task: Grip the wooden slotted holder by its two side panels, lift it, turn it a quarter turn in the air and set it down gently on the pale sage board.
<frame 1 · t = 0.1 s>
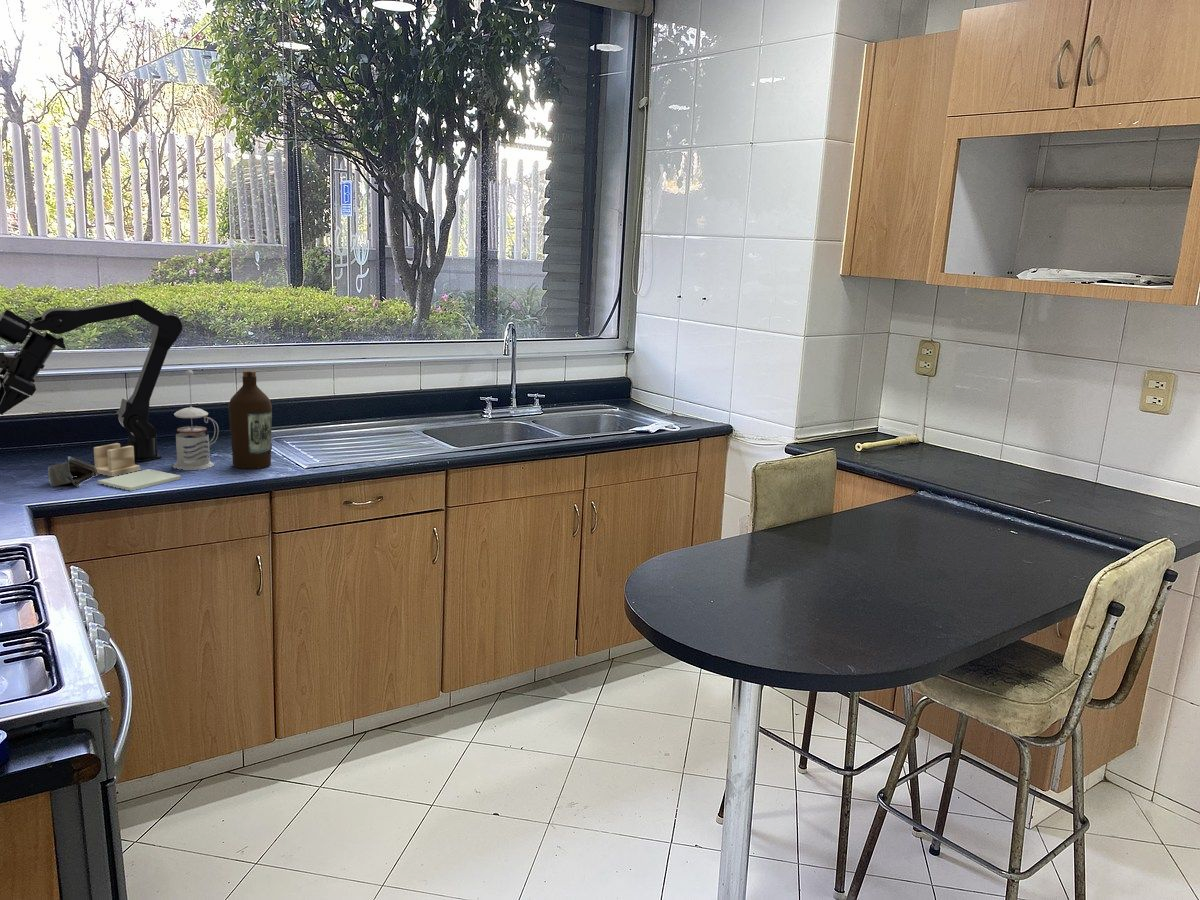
french press: (196, 465, 234), on the kitchen counter
chocolate cake: (71, 483, 212), on the kitchen counter
sage board: (140, 481, 216), on the kitchen counter
olive oil: (252, 465, 236), on the kitchen counter
wooden slotted holder: (115, 472, 223), on the kitchen counter
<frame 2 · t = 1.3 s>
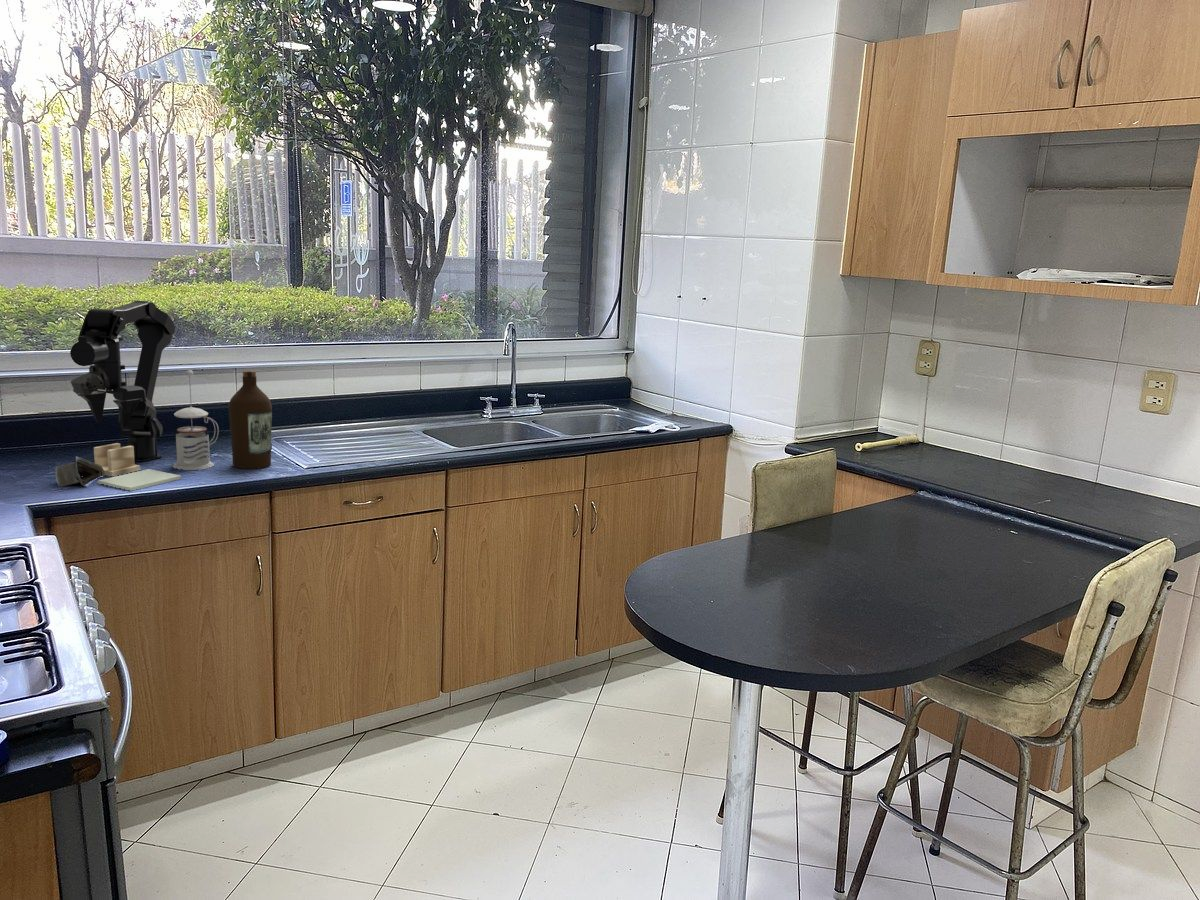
hand: (111, 424, 220), 12 cm above the kitchen counter, tool pointing down, fingers open, 9 cm apart
chocolate cake: (78, 483, 213), on the kitchen counter
everything else where it was.
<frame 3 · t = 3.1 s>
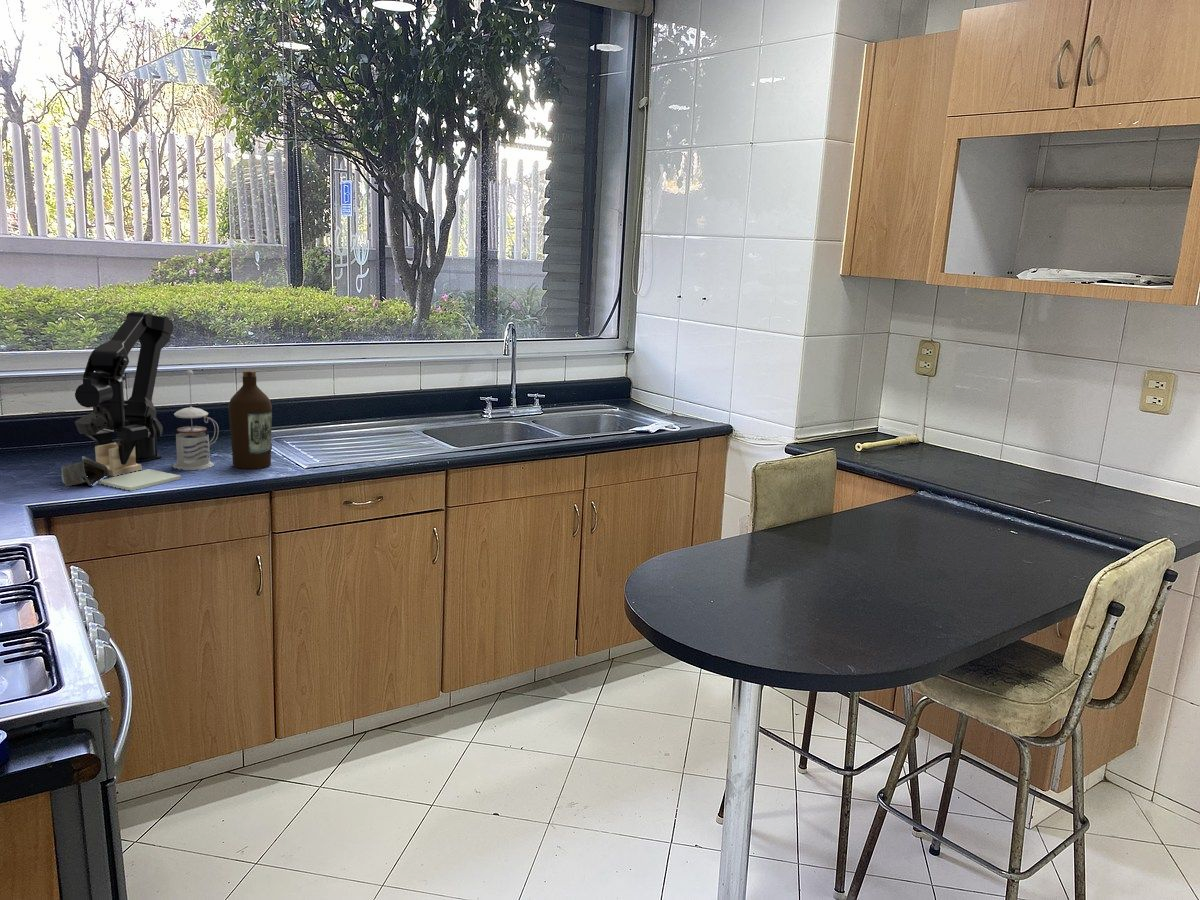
hand: (114, 462, 223), 2 cm above the kitchen counter, tool pointing down, fingers closed on wooden slotted holder, 6 cm apart
chocolate cake: (84, 483, 213), on the kitchen counter
wooden slotted holder: (116, 471, 223), on the kitchen counter, touching gripper
everything else where it was.
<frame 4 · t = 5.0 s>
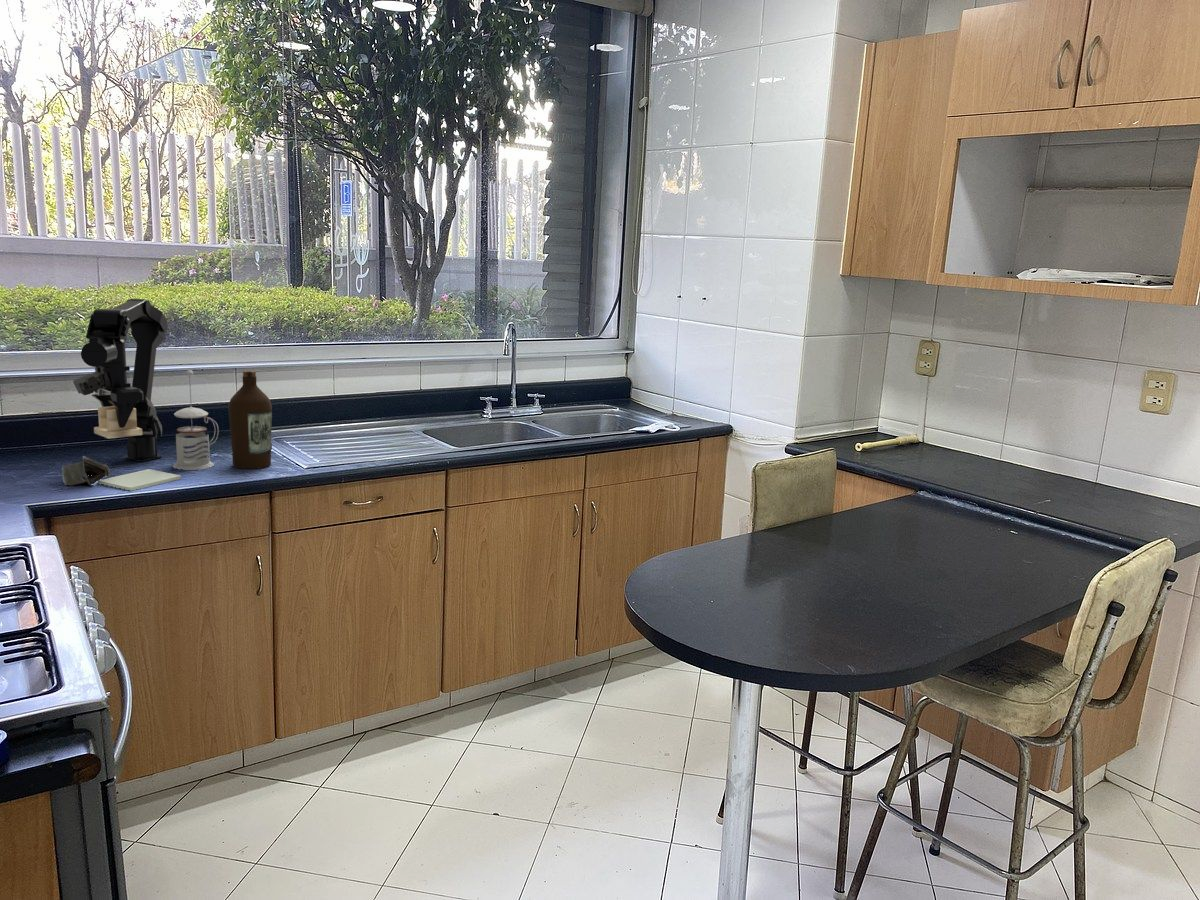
hand: (116, 425, 219), 12 cm above the kitchen counter, tool pointing down, fingers closed on wooden slotted holder, 6 cm apart
wooden slotted holder: (118, 434, 220), point 10 cm above the kitchen counter, touching gripper
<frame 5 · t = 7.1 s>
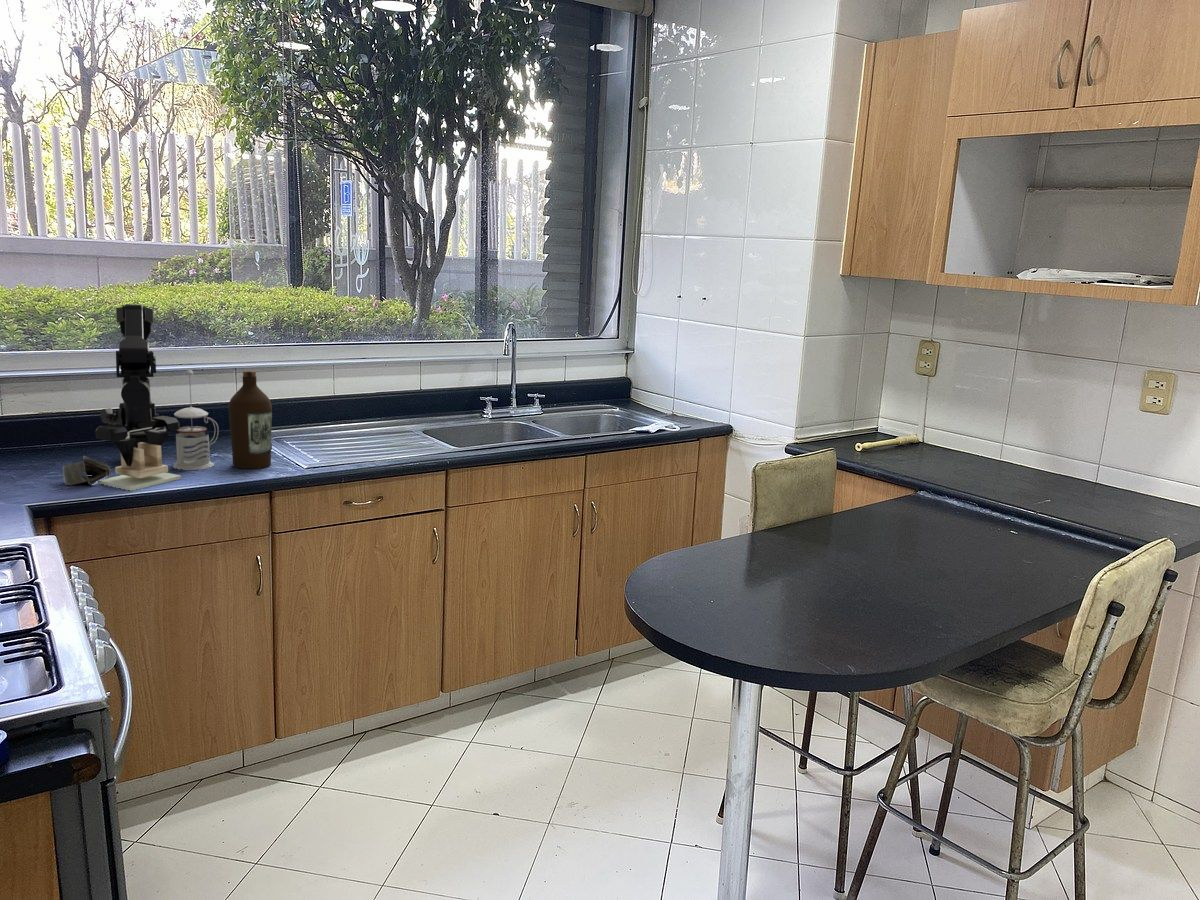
hand: (140, 463, 214), 5 cm above the kitchen counter, tool pointing down, fingers closed on wooden slotted holder, 6 cm apart
wooden slotted holder: (142, 472, 215), point 2 cm above the kitchen counter, touching gripper
everything else where it was.
when the fingers open (4 cm above the kitchen counter, at t = 7.9 s): wooden slotted holder drops 1 cm, resting on sage board.
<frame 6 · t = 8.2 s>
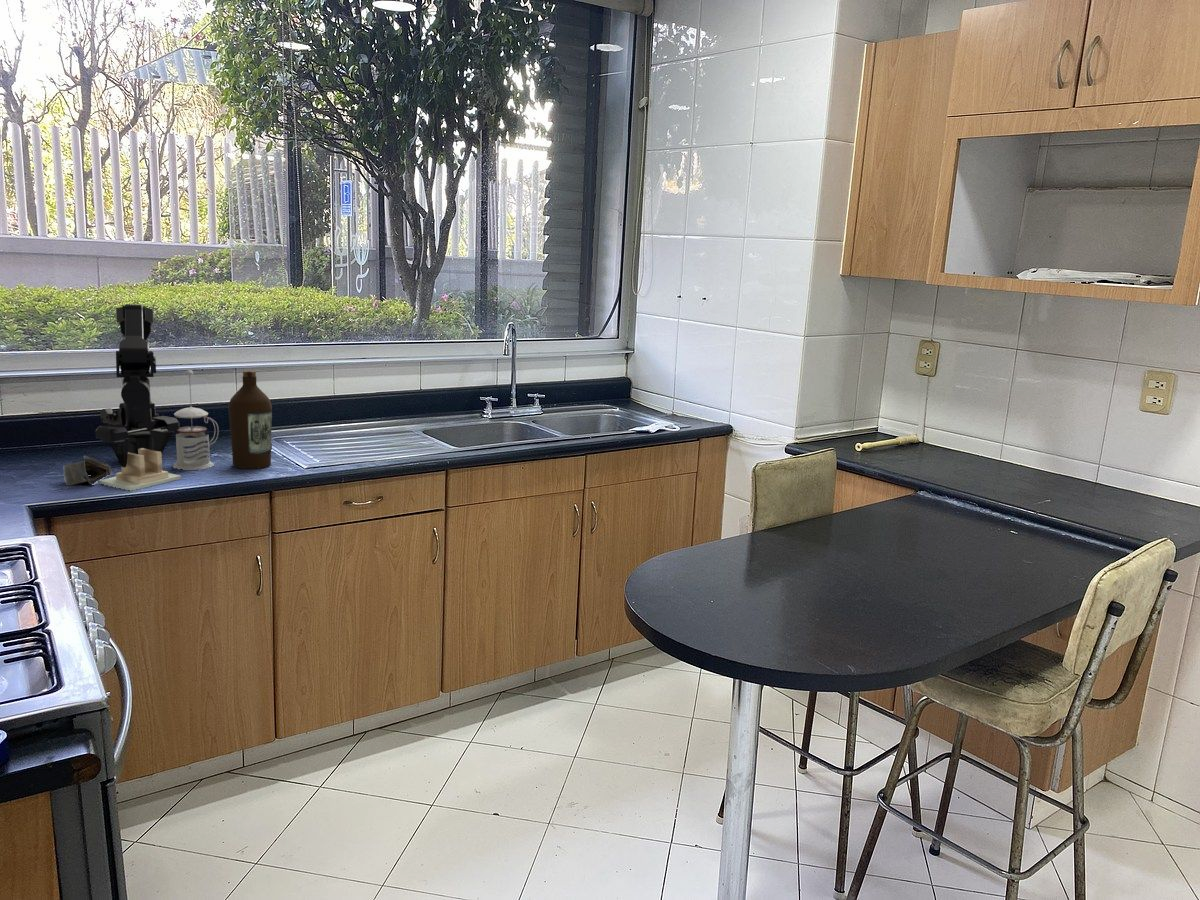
hand: (140, 463, 214), 4 cm above the kitchen counter, tool pointing down, fingers open, 9 cm apart
wooden slotted holder: (142, 478, 215), point 1 cm above the kitchen counter, touching sage board
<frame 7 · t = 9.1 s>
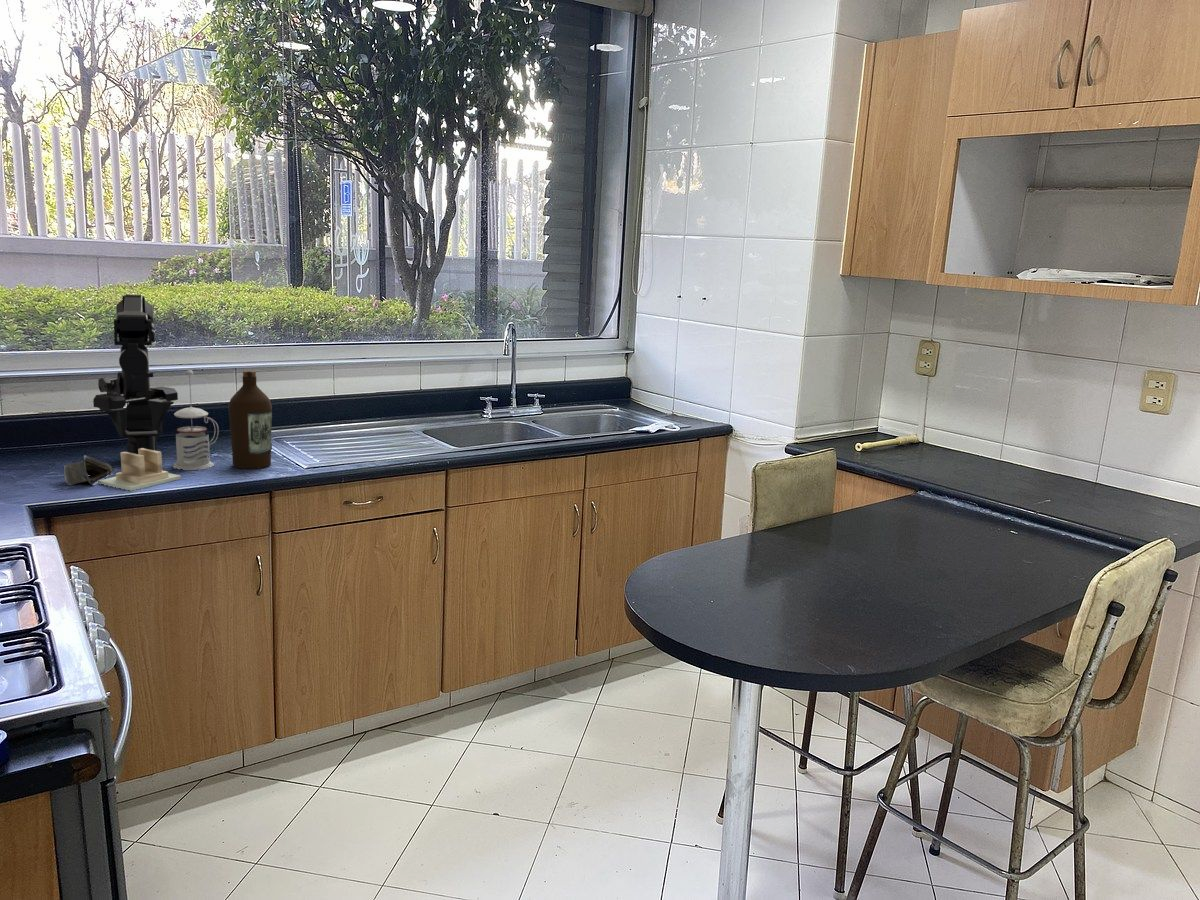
hand: (139, 433, 213), 12 cm above the kitchen counter, tool pointing down, fingers open, 9 cm apart
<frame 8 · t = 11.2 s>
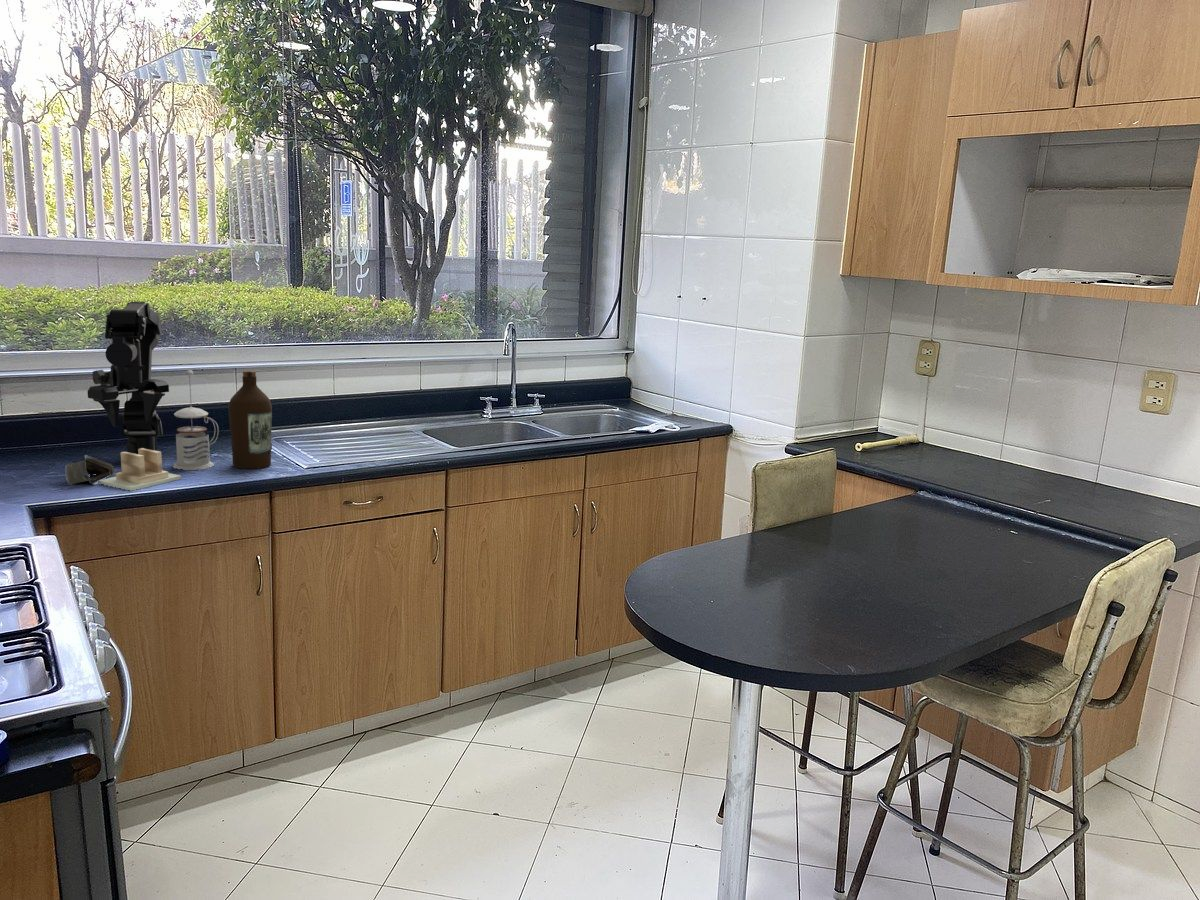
hand: (131, 423, 222), 12 cm above the kitchen counter, tool pointing down, fingers open, 9 cm apart
at the end: wooden slotted holder inside the target area on the sage board (0.8 cm from its centre), point 0.8 cm above the sage board's base; wooden slotted holder tilted 0°; the gripper is holding nothing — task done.
